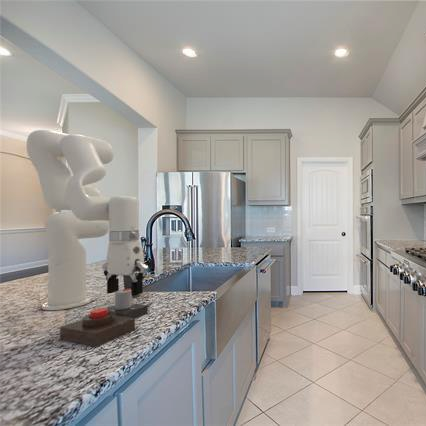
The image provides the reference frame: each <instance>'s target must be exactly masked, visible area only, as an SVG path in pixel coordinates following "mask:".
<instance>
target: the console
mask: <svg viewBox="0 0 426 426" xmlns="http://www.w3.org/2000/svg"><path fill="white" fill-rule="evenodd" d="M106 308H108V311H113V312H115V315H116V316H123V317H129V318H135V319H136V318H138V317H141V316H144V315H146V314H148V313H149V305H148V304H142V303H137V302H134V303H133V302H132V307H130V308H127V309H122V310H117V309H115V304H114V305H110V306H107V307H106Z"/></svg>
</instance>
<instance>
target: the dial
mask: <svg viewBox="0 0 426 426" xmlns="http://www.w3.org/2000/svg"><path fill="white" fill-rule="evenodd" d="M132 303H133V298H132V295H131V288H128V289H124V288H123V289H119V290H118V291H116V292H114V305H115V309H117V310H122V309H127V308H130V307H132Z"/></svg>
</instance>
